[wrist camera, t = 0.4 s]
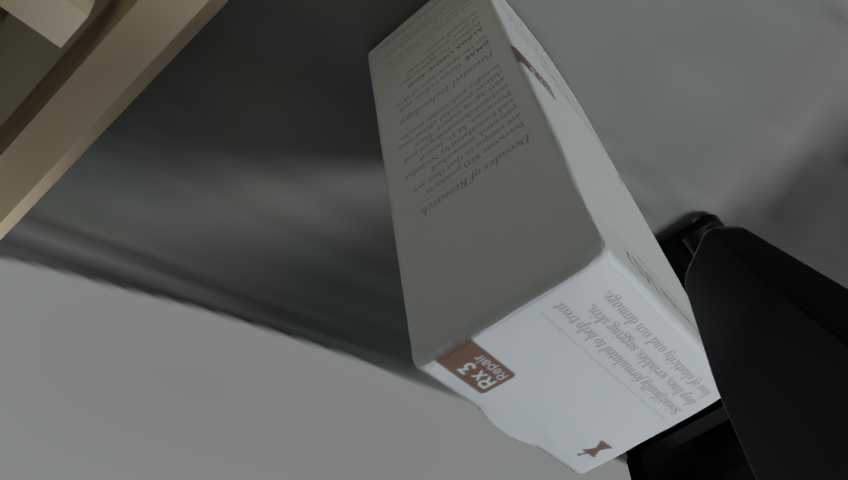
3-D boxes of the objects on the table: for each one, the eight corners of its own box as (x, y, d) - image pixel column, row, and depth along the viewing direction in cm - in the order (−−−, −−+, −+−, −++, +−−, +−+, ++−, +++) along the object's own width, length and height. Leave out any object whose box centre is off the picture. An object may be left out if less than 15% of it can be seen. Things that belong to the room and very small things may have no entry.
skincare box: (576, 90, 23) (767, 389, 14) (469, 169, 25) (583, 485, 16) (467, -50, 20) (632, 236, 11) (349, 53, 21) (409, 380, 12)
